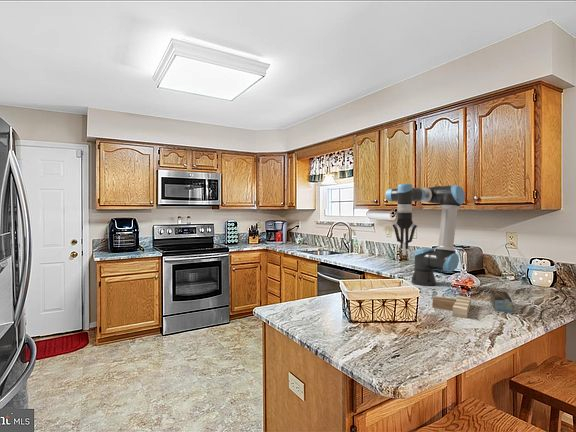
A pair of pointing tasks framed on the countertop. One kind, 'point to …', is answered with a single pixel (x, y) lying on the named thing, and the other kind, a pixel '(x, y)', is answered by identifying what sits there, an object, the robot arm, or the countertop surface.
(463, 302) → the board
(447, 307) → the block
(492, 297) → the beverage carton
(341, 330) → the countertop surface
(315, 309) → the countertop surface
